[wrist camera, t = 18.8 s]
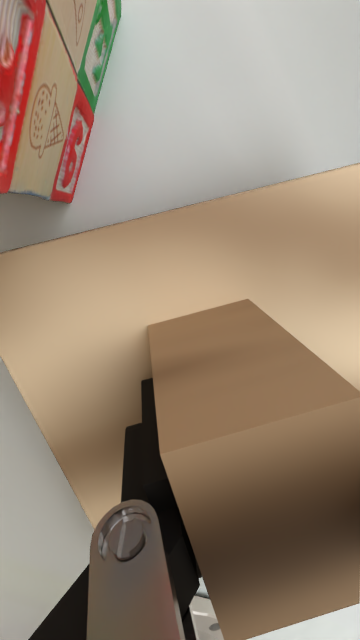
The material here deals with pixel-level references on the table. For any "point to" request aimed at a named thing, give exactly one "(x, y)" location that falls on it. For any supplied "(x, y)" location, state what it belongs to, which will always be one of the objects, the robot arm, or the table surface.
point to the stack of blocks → (50, 90)
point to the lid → (212, 381)
